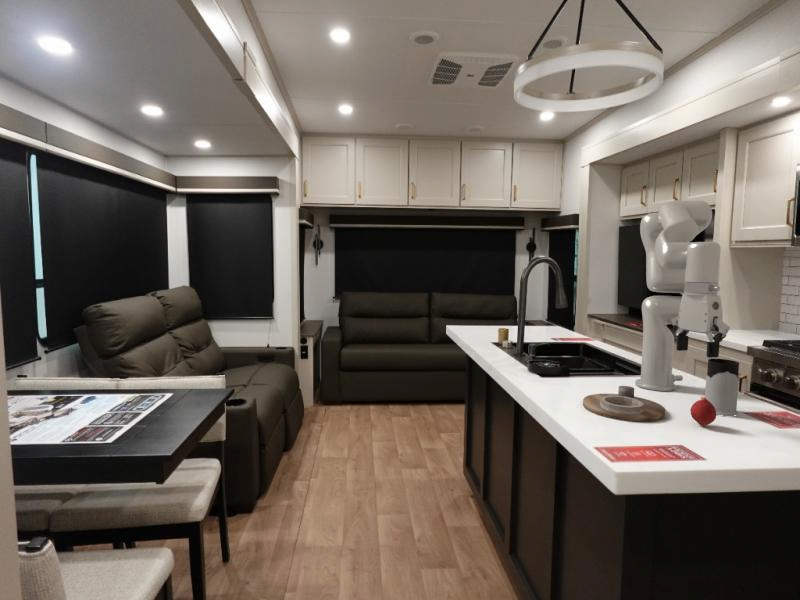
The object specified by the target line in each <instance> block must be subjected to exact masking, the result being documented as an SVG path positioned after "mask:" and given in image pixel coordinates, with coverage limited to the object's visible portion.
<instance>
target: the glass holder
mask: <svg viewBox="0 0 800 600" xmlns="http://www.w3.org/2000/svg"><path fill="white" fill-rule="evenodd" d="M706 370H707V373H706V376H705V378H706V379H705V392H704V397H705V398H706V399H707V400H708V401H709V402H710V403H712V405H713V406H714V407H715V410H716V416H718V415H723V416H722V417H725V416H734V415H737V414H738V415H739V412H738V410H737V405H738V394H739V381H740V380H739V378H740V377H739V371H740V362H739V361H736V360H731V359H726V358H709V359H708V360H707V369H706Z"/></svg>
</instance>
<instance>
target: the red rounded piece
mask: <svg viewBox="0 0 800 600" xmlns="http://www.w3.org/2000/svg"><path fill="white" fill-rule="evenodd" d="M690 415H691V417H692V419H693V420H694V421H695V422H697V424H698V425H699V426H700V427H706V426H708V425H710V424H712V423H713V422H715V420H716V418H717V415H716V410H715V407H714V406H713V405H712V403H710V402H709V401H708V400H707V399H706V398H705V396H701V397H700V399H699V400H697V401H695V402H694V403H693V404H692V406H691V408H690Z"/></svg>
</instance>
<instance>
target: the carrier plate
mask: <svg viewBox="0 0 800 600" xmlns="http://www.w3.org/2000/svg"><path fill="white" fill-rule="evenodd" d="M582 406H584V407H583V408H584V409H585V410H586V411H588V412H590V413H592V414H594V413H595V414H594V415H597V416H600V417H604V418H608V419H612V420H618V421H625V422H634V423H635V422H636V423H649V422H650V423H652V422H658V421H661V420H664V419H665V418H666V411H667V410H666V408H665V407H664V406H663V404H660V403H658V402H656V401H654V400H650V399H646V398H643V397H639V396H635V388H634V387H633V386H629V385H619V386H618V393H595V394H589V395H586V396H584V398H583V399H582Z"/></svg>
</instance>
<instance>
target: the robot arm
mask: <svg viewBox="0 0 800 600" xmlns="http://www.w3.org/2000/svg"><path fill="white" fill-rule="evenodd" d="M712 209H713V208H711V205H710V204H709V203H708V202H706V201H703V200H675V201H669V202H666V203H665V204H663V205H662V206H661V207H660V208H659V210H658V212H653V213H652V212H651V213H648V214H645V215H644V216H643V217H642V218H641V221H640V226H639V231H640V232H639V233H640V238H641V242H642V244H643V245H642V246H643V247H644V250H645V254H646V255H645V257H646V259H645V260H646V261H645V262H646V263H645V265H646V266H645V268H646V271H645V275H646V278H645V279H646V286H647V288H648V290H649V291H651V292H656V293H670V294H671V293H672V294H674V293H675V294H680V295H682V296H678V295H677V296H676V295H675V296H674V295H673V296H672V295H652V296H651V295H650V296H649V297H646V298H645V299H644V300H643V301H642V303H641V314H642V315H641V316H642V325H643V326H642V349H641V350H642V351H641V365H640V378H639V379H636V380H635V383H634V384H635V385H636V386H637V387H639V388H642V389H646V390H651V391H657V392H672V391H675V390H677V385H676V384H675V382H681V381H683V379H684V378H683V376H682V375H680V374H679V375H676V374H673V362H674V349H675V347H674V346H675V337H674V334H673V332H672V331H671V330H670V328H668V326H667V325H672V328H673V330H674V332H675V336H676V351H678V352H682V351H688V349H689V335H688V334H689V333H690V332H691V333H692V332H694V333H699V334H705V335H706V336H707V338H708V340H709V341H707V343H706V344H707V345H706V357H707V358H709V359H715V358H719V355H720V353H719V352H720V343H722V342H723V340H724V339H725V338H726V337H727V334H728V332H729V331H730V326H729V325H728V324H727V323H725V322H724V320H723V316H724V315H723V304H722V299H721V295H719V291H721V286H720V285H719V280H720V265H721V253H722V251H721V249H722V248H721V245H720V244H719V243H718V242H714V241H695V242H694V241H693V240H695V237H697V235H699V234H701V232H703V231H705V230H706V229H707V228H708V226H709V225H710V224H711V221H712V218H713V211H712Z"/></svg>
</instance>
